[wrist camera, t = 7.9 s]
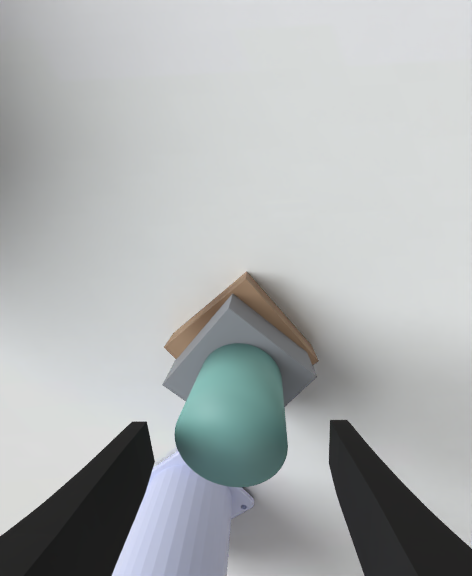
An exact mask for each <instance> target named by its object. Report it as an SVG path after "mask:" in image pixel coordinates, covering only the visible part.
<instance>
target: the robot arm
mask: <svg viewBox="0 0 472 576" xmlns="http://www.w3.org/2000/svg"><path fill="white" fill-rule="evenodd" d="M154 462H155V461H154V456H153V451H152V446H151V441H150V436H149V431H148V426H147V422H132V423H130V424H129V425H128V426H127V427H126V428H125V429H124V430H123V431H122V432H121V433H120V434H119V435H118V436H117V437H116V438H115V439H113V440H112V441H111V442H110V443H109V444H108V445H107V446H106V447H105V448H104V449H103V450H102V451H101V452H100V453H99V454H98V455H97V456H96V457H95V458H93V459H92V460H91V461H90V462H89V463H88V464H87V465H86V466H85V467H84V468H83V469H82V470H81V471H79V472H78V473H77V474H76V475H75V476H74V477H73V478H71V479H70V480H69V481H68V482H67V483H66V484H65V485H64V486H62V487H61V488H60V489H59V490H58V491H57V492H56V493H54V494H53V495H52V496H51V497H50V498H49V499H47V500H46V501H45V502H44V503H43V504H41V505H40V506H39V507H38V508H36V509H35V510H34V511H33V512H31V513H30V514H29V515H28V516H26V517H25V518H24V519H22V520H21V521H20V522H19V523H17V524H16V525H15V526H13V527H12V528H11V529H10V530H8V531H7V532H6V533H4V534H3V535H1V536H0V576H227V564H228V551H229V538H230V525H231V519H232V518H234V517H236V516H238V515H240V514H241V513H243V512H245V511H247V510H249V509H250V508H252V507H253V506H254V499H253V497H251V496H250V495H249V494H248V493H247V492H246V491H245V490H244V489H243V488H242V487H228V486H223V485H219V484H216V483H213V482H211V481H208V480H206V479H205V478H203V477H201V476H200V475H198V474H197V473H195V472H194V471H193V470H192V469H191V468H190V467H189V466H188V465H187V464H186V463H185V462H184V460H183V459H182V457H181V455H180V454H179V452H178V451H177V452H176V453H174V454H173V455H171V456H170V457H169V458H167V459H166V460H164V461H163V462H161V463H160V464H158V465H157V466H155V467H154V468H153V466H154ZM329 465H330V469H331V474H332V478H333V482H334V486H335V490H336V494H337V497H338V500H339V503H340V506H341V509H342V512H343V515H344V518H345V521H346V523H347V526H348V529H349V532H350V535H351V538H352V541H353V544H354V546H355V549H356V552H357V555H358V558H359V561H360V564H361V567H362V570H363V572H364V575H365V576H472V549H471V548H470V547H469V546H468V545H467V544H466V543H465V542H463V541H462V540H461V539H460V538H459V537H458V536H457V535H456V534H455V533H454V532H453V531H451V530H450V529H449V528H448V527H447V526H446V525H445V524H444V523H443V522H442V521H441V520H440V519H438V518H437V517H436V516H435V515H434V514H433V513H432V512H431V511H430V510H429V509H428V508H427V507H426V506H425V505H424V504H423V503H422V502H421V501H420V500H419V499H418V498H417V497H416V496H415V495H414V494H413V493H412V492H411V491H410V490H409V489H408V488H407V487H406V486H405V485H404V484H403V483H402V482H401V481H400V480H399V478H398V477H397V476H396V475H395V474H394V473H393V472H392V471H391V470H390V469H389V468H388V467H387V465H386V464H385V463H384V462H383V461H382V460H381V459H380V458H379V457H378V456H377V454H376V453H375V452H374V451H373V450H372V449H371V448H370V446H369V445H368V444H367V443H366V442H365V441H364V439H363V438H362V437H361V436H360V435H359V433H358V432H357V431H356V430H355V429H354V427H353V426H352V425H351V424H350V423H349V422H348V421H347V420H330V443H329Z"/></svg>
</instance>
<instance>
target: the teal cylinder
mask: <svg viewBox="0 0 472 576" xmlns="http://www.w3.org/2000/svg"><path fill="white" fill-rule="evenodd" d="M175 442H176V446H177V449H178V452H179V454H180V455H181V457H182V459H183V460H184V462H185V463H186V464H187V465H188V466H189V467H190V468H191V469H192V470H193V471H194V472H195V473H197V474H198V475H200V476H201V477H203V478H205V479H206V480H208V481H211V482H213V483H216V484H219V485H223V486H228V487H249V486H254V485H257V484H260V483H262V482H265V481H267V480H268V479H270V478H271V477H273V476H274V475H275V474H276V473H277V472H278V471H279V470H280V468H281V467H282V465H283V464H284V461H285V459H286V456H287V449H288V444H287V432H286V421H285V410H284V398H283V387H282V376H281V372H280V370H279V367H278V365H277V364H276V362H275V361H274V360H273V358H272V357H271V356H270V355H269V354H267V353H266V352H265V351H263V350H261V349H260V348H257V347H255V346H252V345H249V344H242V343H234V344H228V345H224V346H222V347H220V348H217V349H216V350H214V351H213V352H212V353H211V354H210V355H209V356H208V357H207V358H206V360H205V361H204V363H203V366H202V368H201V370H200V372H199V374H198V377H197V379H196V381H195V383H194V385H193V388H192V390H191V392H190V394H189V396H188V399H187V401H186V403H185V405H184V407H183V410H182V412H181V414H180V416H179V418H178V421H177V423H176V427H175Z"/></svg>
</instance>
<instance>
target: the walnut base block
mask: <svg viewBox="0 0 472 576" xmlns="http://www.w3.org/2000/svg"><path fill="white" fill-rule="evenodd" d="M232 293H233V294H234V295H235V296H237V297H238V298H239V299H240V300H242V301H243V302H244V303H245V304H247V305H248V306H249V307H250V308H252V309H253V310H254V311H255V312H257V313H258V314H259V315H261V316H262V317H263V318H264V319H266V320H267V321H268V322H269V323H271V324H272V325H273V326H274V327H276V328H277V329H278V330H279V331H281V332H282V333H283V334H285V335H286V336H287V337H288V338H290V339H291V340H292V341H293V342H295V343H296V344H297V345H298V346H300V347H301V348H302V349H303V350H305V351H306V352H307V353H308V355H309V358H310V361H311V363H312V365H314V364H315V363H317V362H318V359H317V356H316V354H315V352H314V350H313V348H312V345H311V344H310V343H309V342H308V341H307V340H306V339H305V337H304V336H303V335H302V334H301V333H300V332H299V331H298V329H297V328H296V327H295V326H294V325H293V324H292V323H291V321H290V320H289V319H288V318H287V317H286V316H285V315H284V313H283V312H282V311H281V310H280V309H279V308H278V307H277V305H276V304H275V303H274V302H273V301H272V300H271V299H270V298H269V296H268V295H267V294H266V293H265V292H264V291H263V290H262V288H261V287H260V286H259V285H258V284H257V283H256V282H255V280H254V279H253V278H252V277H251V276H250V275H249V274H248V272H246V273H244V274H243V275H242V276H241V277H240V278H239V279H237V280H236V281H235V282H234V283H233V284H231V285H230V286H229V287H228V288H227V289H225V290H224V291H223V292H222V293H221V294H220V295H218V296H217V297H216V298H215V299H214V300H212V301H211V302H210V303H209V304H208V305H206V306H205V307H204V308H203V309H202V310H201V311H199V312H198V313H197V314H196V315H195V316H193V317H192V318H191V319H190V320H189V321H187V322H186V323H185V324H184V325H183V326H182V327H180V328H179V329H178V330H177V331H176V332H174V333H173V335H172V336H171V338H170V339H169V341H168V342H167V344H166V345H165V346H164V348H165V349H166V350H167V351H168V352H169V353H170V354H171V355H172V356H173V357H174V358H175V359H177V358H178V357H179V356H180V355H181V353H182V352H183V351H184V350H185V349H186V348H187V346H188V345H189V344H190V343H191V342H192V340H193V339H194V338H195V337H196V336H197V335H198V333H199V332H200V331H201V330H202V329H203V328H204V326H205V325H206V324H207V323H208V322H209V321H210V319H211V318H212V317H213V316H214V315H215V313H216V312H217V311H218V310H219V309H220V308H221V306H222V305H223V304H224V303H225V302H226V301H227V299H228V298H229V297H230V296H231V295H232Z"/></svg>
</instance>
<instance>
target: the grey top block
mask: <svg viewBox="0 0 472 576" xmlns="http://www.w3.org/2000/svg"><path fill="white" fill-rule="evenodd" d="M234 343H242V344H249V345H252V346H255V347H257V348H260V349H261V350H263V351H265V352H266V353H267V354H269V355H270V356H271V357H272V358H273V360H274V361H275V362H276V364H277V365H278V367H279V370H280V372H281V376H282V387H283V398H284V407H285V406H286V405H287V404H288V403H289V402H290V401H291V400H292V399H293V398H295V397H296V396H297V395H298V394H299V393H300V392H301V391H302V390H303V389H304V388H305V387H307V386H308V385H309V384H310V383H311V382H312V381H313V380H314V379H315V378H316V377H317V376H316V373H315V371H314V368H313V366H312V363H311V361H310V358H309V355H308V353H307V352H306V351H305V350H303V349H302V348H301V347H300V346H298V345H297V344H296V343H295V342H293V341H292V340H291V339H290V338H288V337H287V336H286V335H285V334H283V333H282V332H281V331H279V330H278V329H277V328H276V327H274V326H273V325H272V324H271V323H269V322H268V321H267V320H266V319H264V318H263V317H262V316H261V315H259V314H258V313H257V312H255V311H254V310H253V309H252V308H250V307H249V306H248V305H247V304H245V303H244V302H243V301H242V300H240V299H239V298H238V297H237V296H235V295H234V294H233V293H232V295H231V296H230V297H229V298H228V299H227V301H226V302H225V303H224V304H223V305H222V306H221V308H220V309H219V310H218V311H217V312H216V313H215V315H214V316H213V317H212V318H211V319H210V321H209V322H208V323H207V324H206V325H205V326H204V328H203V329H202V330H201V331H200V332H199V333H198V335H197V336H196V337H195V338H194V339H193V340H192V342H191V343H190V344H189V345H188V346H187V348H186V349H185V350H184V351H183V352H182V353H181V355H180V356H179V357H178V358H177V359H176V360H175V362H174V364H173V366H172V368H171V370H170V372H169V373H168V375H167V377H166V379H165V381H164V383H163V386H165V387H166V388H168V389H169V390H170V391H172V392H173V393H175V394H176V395H178V396H179V397H180V398H182V399H183V400H185V401H187V399H188V396H189V394H190V392H191V390H192V388H193V385H194V383H195V381H196V379H197V377H198V374H199V372H200V370H201V368H202V366H203V363H204V361H205V360H206V358H207V357H208V356H209V355H210V354H211V353H212V352H213V351H214V350H216V349H217V348H220V347H222V346H224V345H228V344H234Z"/></svg>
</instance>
